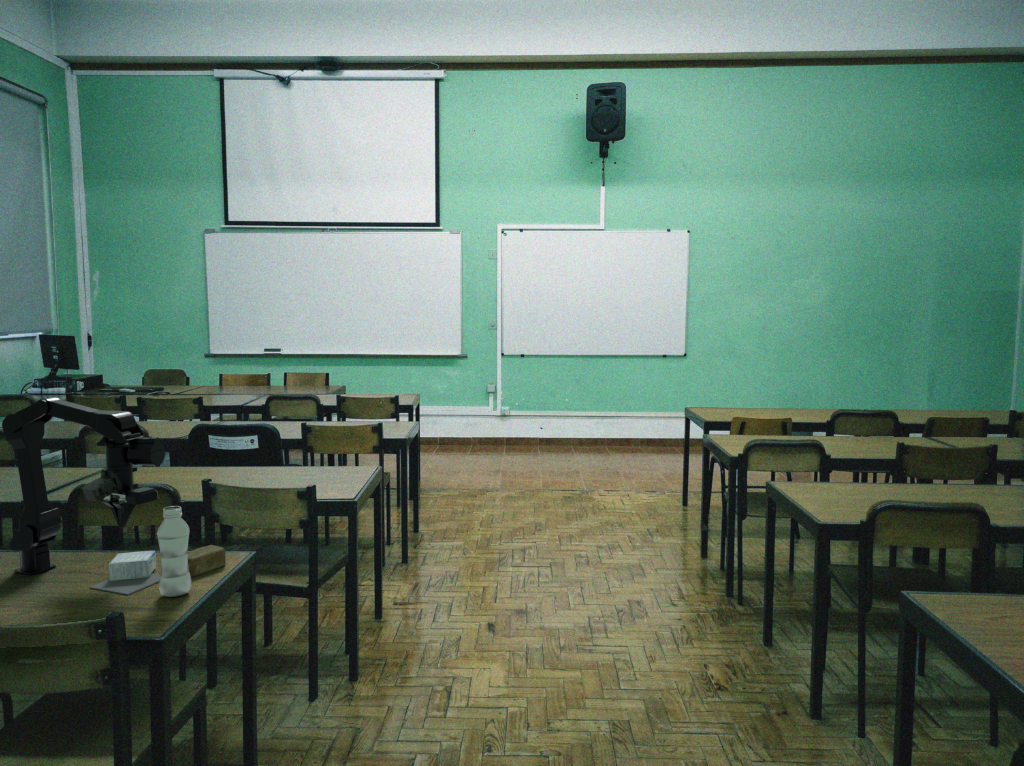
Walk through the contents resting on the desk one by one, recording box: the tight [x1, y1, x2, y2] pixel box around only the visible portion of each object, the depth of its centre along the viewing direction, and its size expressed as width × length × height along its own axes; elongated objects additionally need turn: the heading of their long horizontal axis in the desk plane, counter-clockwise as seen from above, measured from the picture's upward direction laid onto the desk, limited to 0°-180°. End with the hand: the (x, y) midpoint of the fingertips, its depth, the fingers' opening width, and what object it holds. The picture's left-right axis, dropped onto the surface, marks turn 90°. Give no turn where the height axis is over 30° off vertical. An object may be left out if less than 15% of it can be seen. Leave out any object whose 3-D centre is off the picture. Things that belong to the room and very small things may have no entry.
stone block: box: [187, 544, 227, 578], centre depth 174 cm, size 6×12×5 cm, turn 151°
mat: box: [89, 572, 161, 596], centre depth 166 cm, size 12×12×1 cm
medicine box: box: [108, 550, 157, 581], centre depth 170 cm, size 8×4×9 cm
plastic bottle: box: [156, 505, 192, 598], centre depth 157 cm, size 6×7×20 cm
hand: (121, 527), depth 170 cm, fingers closed
